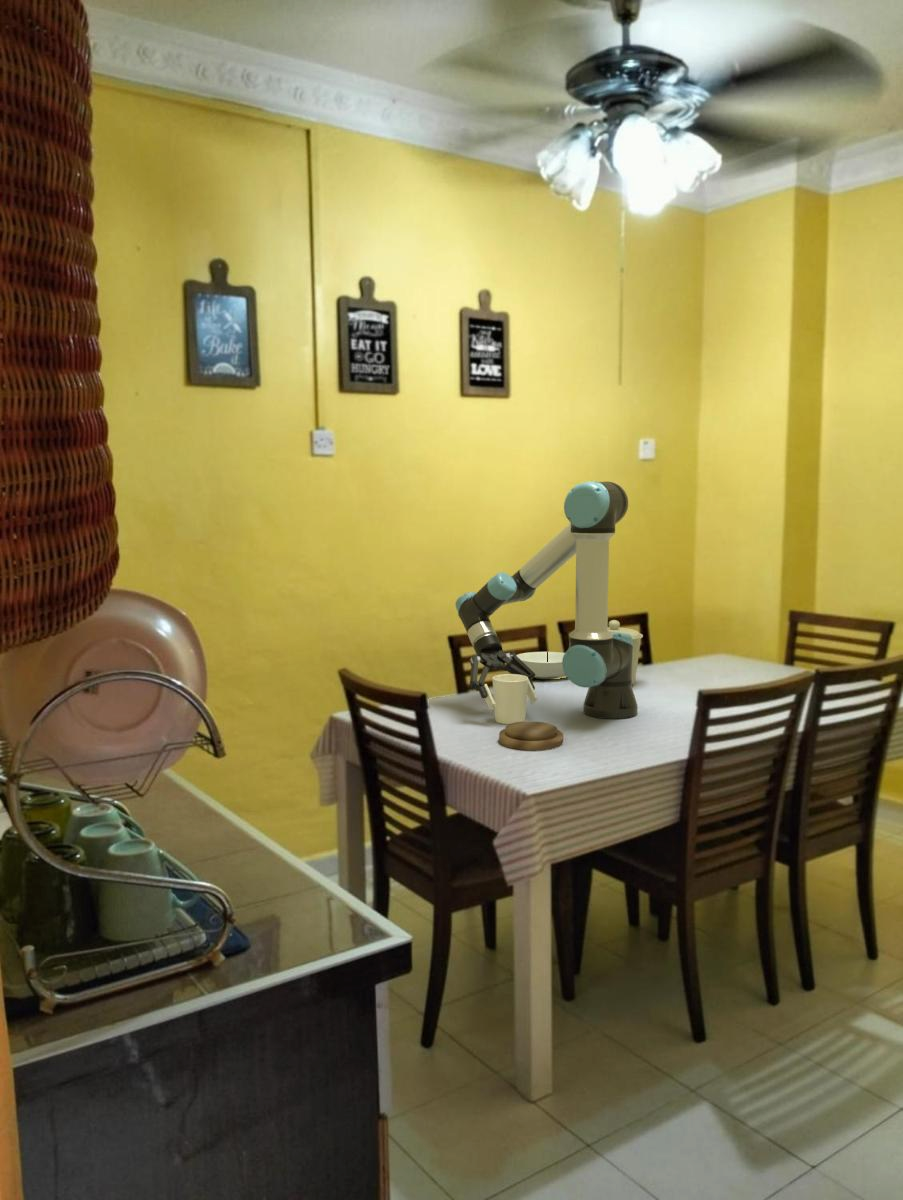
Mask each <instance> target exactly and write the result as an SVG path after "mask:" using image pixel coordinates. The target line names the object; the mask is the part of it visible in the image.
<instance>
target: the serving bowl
mask: <svg viewBox="0 0 903 1200" xmlns="http://www.w3.org/2000/svg"><path fill="white" fill-rule="evenodd" d="M547 652H548V662H547ZM565 653H566V652H556V651H532V652H524V653H523V652H522V653H518V654H516V656H517V657H518V658H519V659H520V660H521V661H522V662H523V663H524V664H525V665H527V666H528V667H529V668H530V669H531V670H532V671H533V672H534V673H535V676H534V678H535V679H540V680H554V679H557V678H562V677H564V676H566V675H565V673H564V670H563V666H562V660H563V656H564V654H565ZM534 678H533V679H534Z"/></svg>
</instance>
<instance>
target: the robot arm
mask: <svg viewBox="0 0 903 1200" xmlns="http://www.w3.org/2000/svg"><path fill="white" fill-rule="evenodd" d="M628 508H629V498H628V495H627V492H626V490H625V489H624V488H623V487H622V486H620V485H619V484H617V483H616V482H614V481H613V482H612V481H592V480H591V481H585V482H581V483H579V484H578V483H577V484H576V485H575V486H574V487H572V488H571V489H570V490H569V492H568V493H567V495H566V497H565V499H564V503H563V511H564V514H565V518H566V519H567V521H569V524H567V526H566V527H564V528H563V529H562V530H561V531H560V532H558V534H557V535H556V536H554V537H553V538H552V539H551V540H550V541H549V542H548V543H547V544H546V545H544V546H543V547H542V548H541V549H540V550H539V551H538V552H537V553H536V554H534V555H533V556H532V557H531V558H530V559H529V560H528V561H526V562H525V564H524V565H522V566H521V567H520V568H519V569H518V570H517V571H516V572H515V573H513V575H511V576H510V575H509V574H508V573H505V572H497V574H495V575H494V576H493V577H491V578H490V579H489V580H488V581H487V582H486V583H485V584H484V586H482V587H480V589H479V590H478V591H477V592H474V591H471V592H466V593H465V592H464V593H463V594H462V595H460V596H458V597H457V599H456V601H455V609H456V611H457V615H458V617H459V619H460V621H461V622H462V625H463V627H464V629H465V631H466V635H467V636H468V638H469V641H470V643H471V645H472V646H473V650H474V652H475V654H472V656H471V657H470V659H469V663H470V666H471V667H470V677H469V688H470V689H474V688H475V691H477V692H479V694H480V697H481V699H484V701H485V703H486V705H487V707H488V710H489V711H490V710H494V706H495V701H494V696H493V695H492V693H491V690H490V689H489V686H488V684H487V683H485V681H486V678H487V676H488V672H489V670H490V671H495V670H498V671H499V670H503V671H504V672H508V674H518V675H524V676H527V677H528V689H527V698H528V699H529V701H530V704H531V705H533V704H535V703H536V701H537V700H538V699H539V698H538V695H537V693H536V692H535V689H536V688H535V685H534V683H533V679H534V676H535V673H534V672H533V671H532V670H531V669H530V668H529V667H528V666H527V665H525V664H524V663H523V662H522V661H521V660H520V659H519V658H518V657H517V656H516V655H517V654H516V652H515V650H510V651H509V652H508V653H506V652H505V651H504V650H503V645H502V644H501V641H500V639H499V636H497V632H496V630H495V628H494V626H493V624H492V621H491V619H490V617H491V616H492V615H493V614H494V613H495V612H497V611H498V609H500V608H501V607H502V606H505V605H509V604H513V603H517V602H524V601H525V602H526V601H527V600H528V599H530V598H532V597H533V596H534V595H535V592H536V590H537V588H539V587H540V586H542V584H544V582H545V581H547V580H548V579H549V578H550V577H552V575H554V574H555V572H557V571H558V570H559V569H560V568H562V567H563V566H564V565H565V564H566V563H567V562H568V561H569V560H571V559H572V558H573V557H574V556H575V604H574V605H575V606H574V607H575V610H574V623H575V624H574V629H573V630H572V631H571V633H569V634H568V635H569V636H568V639H569V640H568V641H569V643H568V648H567V650H566V651H565V652H564V653H565V654H564V656H563V660H562V666H563V670H564V673H565V675H564V676H565V677H566V678H567V679H568V680H569V681H570V682H571V683H572V684H574V685H576V686H578V687H580V688H588V689H587V692H586V695H585V698H584V701H583V705H582V707H583V708H582V710H583V711H582V712H583V714H585V715H587V716H591V717H594V718H601V719H609V718H611V719H612V720H614V719H615V718H616V720H618V719H617V718H619V719H627V718H628V717H629V718H632V716H633V717H635V716H637V715H638V702H637V699H636V697H635V694H634V690H633V684H632V652H633V644H632V636H631V635H630V634H627V633H618V632H609V631H608V627H609V621H608V620H609V617H608V616H609V613H608V612H609V571H610V569H609V568H610V567H609V566H610V565H609V564H610V562H609V561H610V557H609V556H610V539H611V538H612V537H613V536H614V535H615V534H616V525H617V524H618V523H619V522H621V520H623V518H624V517H625V516H626V514H627V512H628ZM479 663H480V664H481V665H483V669H482V671H481V674H480V676H479V679H478V675H479ZM505 664H506V665H505ZM613 718H614V719H613ZM629 718H628V719H629Z"/></svg>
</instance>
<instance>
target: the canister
mask: <svg viewBox="0 0 903 1200" xmlns="http://www.w3.org/2000/svg"><path fill="white" fill-rule="evenodd" d="M620 626H621V623H620V622H619V620H616V619H612V620H610V621H608V631H609V632H618V633H627V634H630V635H631V636H632V644H633V652H632V685H633V684H634V682H635V681H636V676H637V670H638V665H639V664H638V663H639V656H640V649H641V639H643V637H644V635H643V634H642V633H641V632H639V631H638V630H635V629H632V628H629V627H628V628H626V627H620Z"/></svg>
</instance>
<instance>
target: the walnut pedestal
mask: <svg viewBox="0 0 903 1200" xmlns="http://www.w3.org/2000/svg"><path fill="white" fill-rule="evenodd" d="M504 727H505V728H503V729H501V730H500V731H499V733H498V735H499V737H498V738H499V741H498V742H499V744H500V745H502V746H503V747H505V746H506V748H508V749H512V748H513V749H514V750H517V749H518V751H520V750H521V751H528V750H533V751H532V752H534V751H535V752H536V750H539V751H547V750H546V749H549V750H553V749H552V748H554V749H556V748H555V747H557V748H559V747H561V746H562V745H563V744H564V733H563V732H562V731H561V730H559V729H558V726H556V725H554V724H552V723H549V722H544V721H536V720H535V721H532V720H531V721H526V720H525V721H524V722H515V723H511V724H506V726H504ZM562 743H563V744H562ZM561 744H562V745H561ZM560 745H561V746H560ZM558 746H559V747H558Z"/></svg>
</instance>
